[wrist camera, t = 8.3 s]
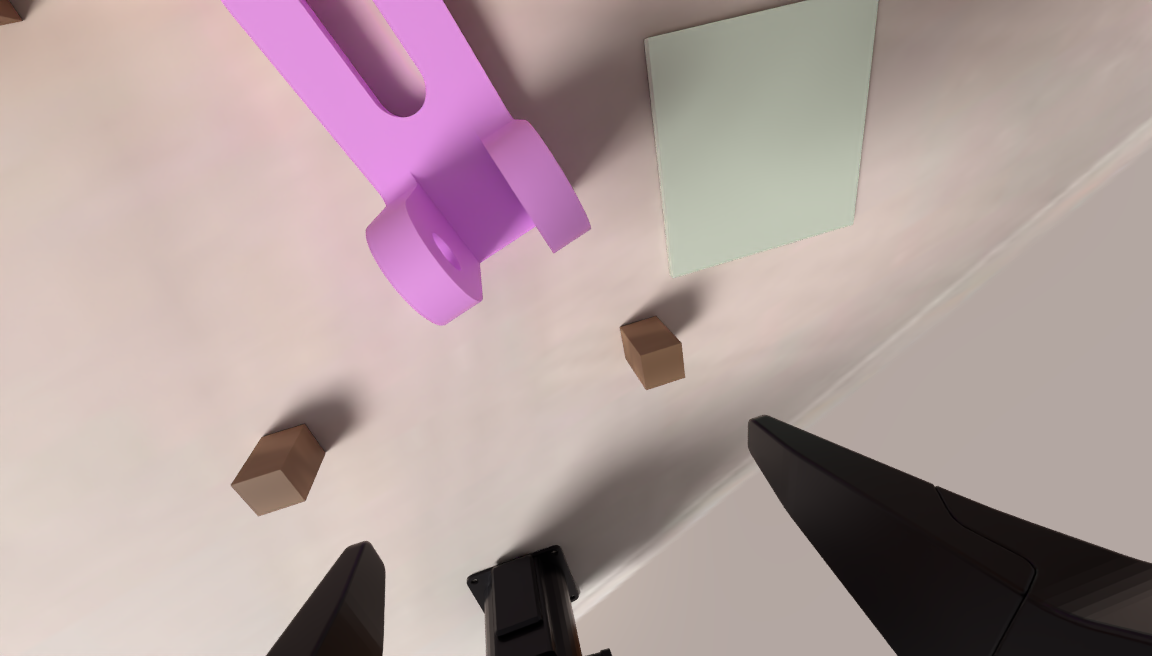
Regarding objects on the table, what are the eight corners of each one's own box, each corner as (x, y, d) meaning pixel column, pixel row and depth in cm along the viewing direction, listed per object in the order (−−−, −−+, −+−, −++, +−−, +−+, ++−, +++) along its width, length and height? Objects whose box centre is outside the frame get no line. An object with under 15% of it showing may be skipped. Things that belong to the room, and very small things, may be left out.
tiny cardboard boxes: (660, 347, 23) (685, 377, 20) (284, 466, 21) (258, 516, 18) (589, -180, 13) (619, -253, 11) (-122, -54, 11) (-302, -106, 9)
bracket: (557, 201, 18) (603, 242, 12) (452, 271, 19) (446, 345, 13) (324, -194, 12) (176, -513, 6) (170, -79, 12) (-121, -270, 6)
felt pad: (847, 222, 22) (853, 224, 22) (669, 275, 21) (673, 278, 21) (872, -15, 17) (880, -17, 17) (644, 39, 16) (648, 37, 16)
